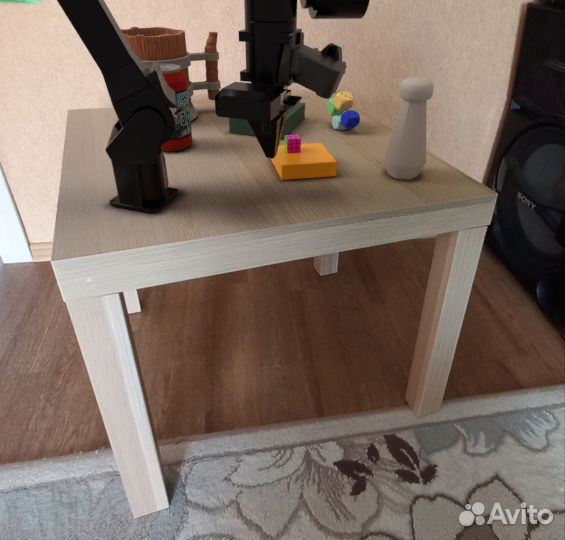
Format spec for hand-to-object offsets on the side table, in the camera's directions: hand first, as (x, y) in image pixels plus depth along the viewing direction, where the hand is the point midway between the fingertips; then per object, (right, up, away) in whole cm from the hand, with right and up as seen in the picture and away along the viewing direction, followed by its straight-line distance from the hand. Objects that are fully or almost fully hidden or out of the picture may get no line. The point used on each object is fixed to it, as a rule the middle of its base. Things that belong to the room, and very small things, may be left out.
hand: (270, 157), depth 60 cm
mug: (-19, +15, +31) cm, 39 cm away
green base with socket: (-1, +12, +26) cm, 29 cm away
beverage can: (-17, +6, +17) cm, 24 cm away
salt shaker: (+19, -1, +8) cm, 20 cm away
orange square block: (+4, +1, +10) cm, 10 cm away
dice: (+12, +11, +25) cm, 30 cm away
